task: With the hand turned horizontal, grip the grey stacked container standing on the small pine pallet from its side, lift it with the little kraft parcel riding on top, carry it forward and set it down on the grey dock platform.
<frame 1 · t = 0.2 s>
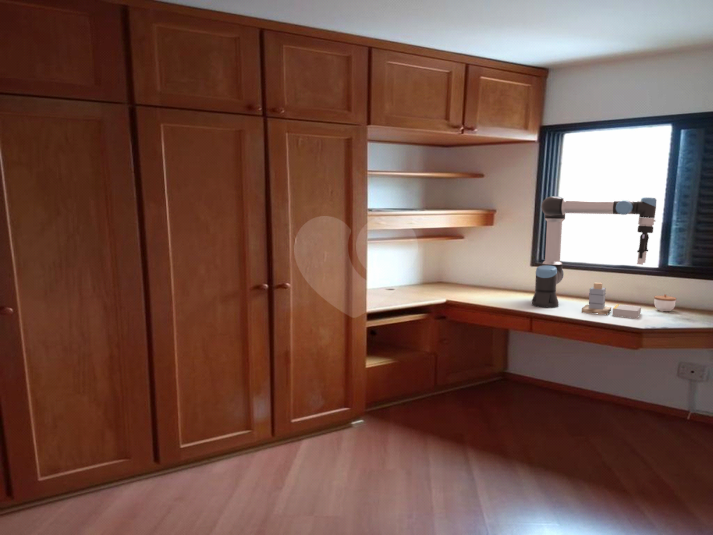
hand: (641, 263, 285), 27 cm above the table, tool pointing down, fingers open, 13 cm apart
pallet: (596, 311, 287), on the table
parcel: (597, 288, 285), point 13 cm above the table, touching grey stacked container
grey stacked container: (596, 307, 286), point 2 cm above the table, touching pallet, parcel
dock: (626, 314, 279), on the table
lidded jar: (664, 311, 289), on the table
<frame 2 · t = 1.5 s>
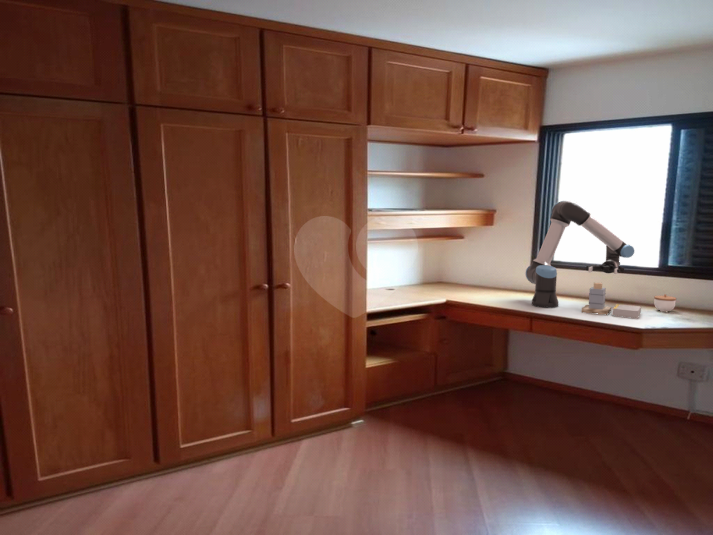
hand: (602, 270, 292), 22 cm above the table, tool horizontal, fingers open, 13 cm apart
nothing on the table moved.
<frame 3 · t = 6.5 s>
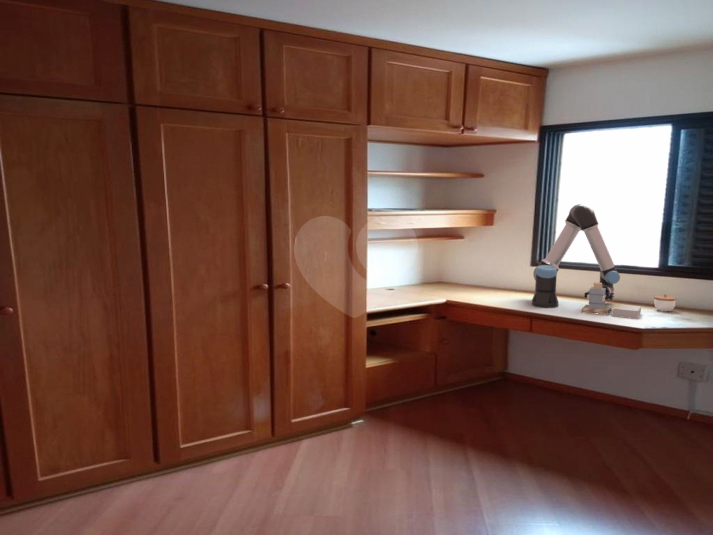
hand: (595, 298, 282), 8 cm above the table, tool horizontal, fingers closed on grey stacked container, 7 cm apart
grey stacked container: (596, 307, 286), point 2 cm above the table, touching gripper, pallet, parcel
everything else where it was.
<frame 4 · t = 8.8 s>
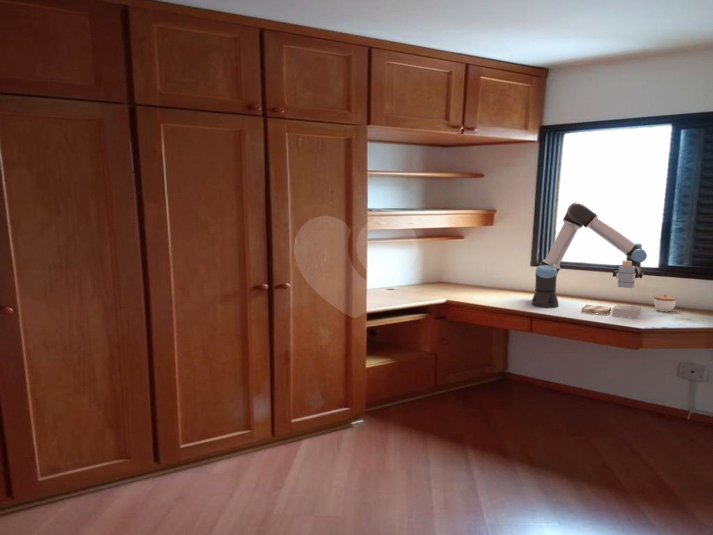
hand: (625, 276, 273), 22 cm above the table, tool horizontal, fingers closed on grey stacked container, 7 cm apart
parcel: (627, 266, 276), point 26 cm above the table, touching grey stacked container
grey stacked container: (625, 286, 278), point 15 cm above the table, touching gripper, parcel
everything else where it was.
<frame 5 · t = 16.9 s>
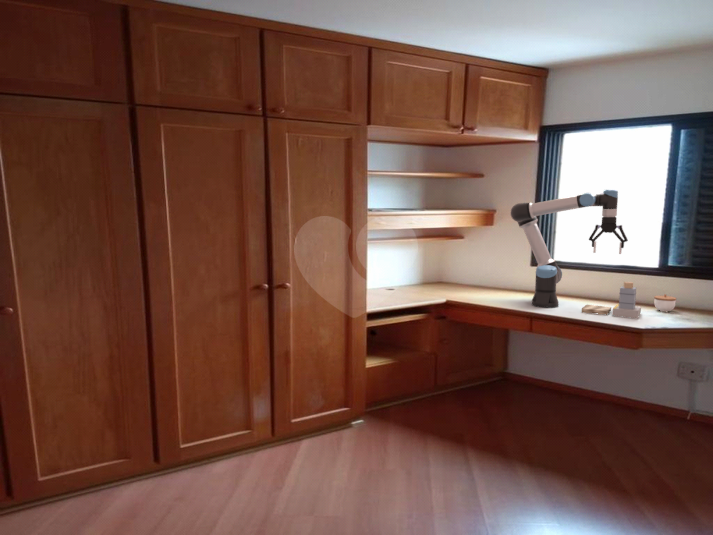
hand: (607, 253, 297), 32 cm above the table, tool pointing down, fingers open, 13 cm apart
parcel: (628, 287, 277), point 15 cm above the table, touching grey stacked container
grey stacked container: (626, 307, 278), point 4 cm above the table, touching dock, parcel
everything else where it was.
at the end: grey stacked container inside the target area on the dock (0.1 cm from its centre), point 4.0 cm above the dock's base; grey stacked container tilted 0°; parcel inside the target area on the grey stacked container (0.0 cm from its centre), point 11.0 cm above the grey stacked container's base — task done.
